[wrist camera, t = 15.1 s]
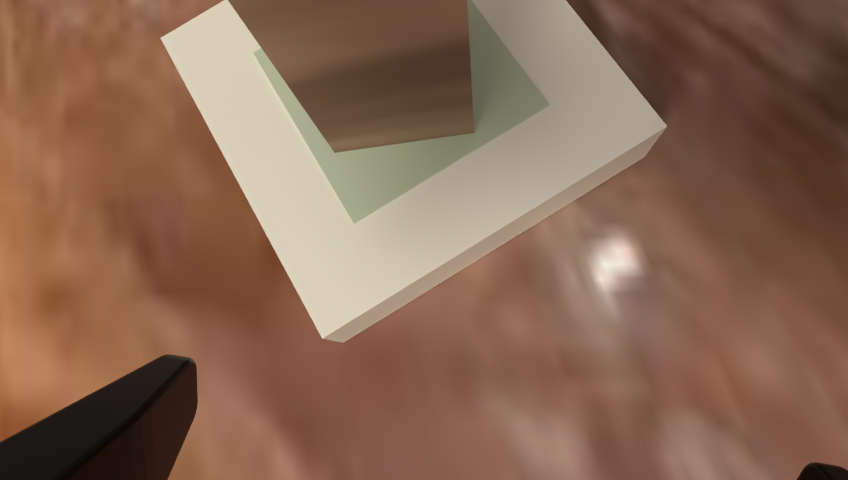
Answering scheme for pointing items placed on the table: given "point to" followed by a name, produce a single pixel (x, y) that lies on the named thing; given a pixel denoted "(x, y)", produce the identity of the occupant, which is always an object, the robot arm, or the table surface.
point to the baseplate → (417, 156)
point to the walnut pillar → (371, 65)
